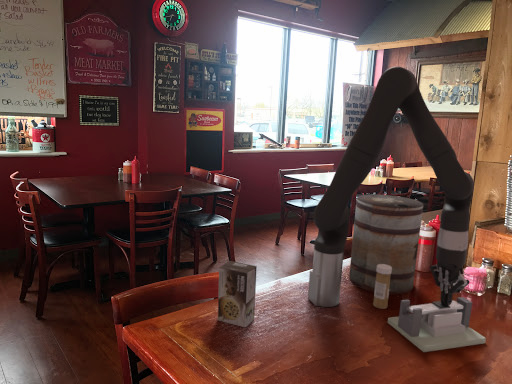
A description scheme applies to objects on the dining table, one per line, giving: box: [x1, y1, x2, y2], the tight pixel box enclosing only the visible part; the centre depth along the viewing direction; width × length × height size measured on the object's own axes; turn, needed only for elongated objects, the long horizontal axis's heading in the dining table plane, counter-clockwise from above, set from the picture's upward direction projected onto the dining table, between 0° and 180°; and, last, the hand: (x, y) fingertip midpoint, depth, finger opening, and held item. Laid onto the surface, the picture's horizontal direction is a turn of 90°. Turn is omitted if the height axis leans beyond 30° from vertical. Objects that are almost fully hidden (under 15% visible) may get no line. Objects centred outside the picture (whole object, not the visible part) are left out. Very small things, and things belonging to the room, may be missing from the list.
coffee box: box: [217, 260, 257, 328], centre depth 122 cm, size 9×6×16 cm
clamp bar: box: [407, 300, 463, 314], centre depth 120 cm, size 16×4×1 cm, turn 107°
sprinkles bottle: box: [372, 264, 392, 310], centre depth 135 cm, size 5×5×13 cm
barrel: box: [348, 194, 424, 295], centre depth 154 cm, size 22×22×30 cm
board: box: [387, 296, 487, 353], centre depth 121 cm, size 20×16×9 cm
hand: (445, 304), depth 120 cm, fingers closed
